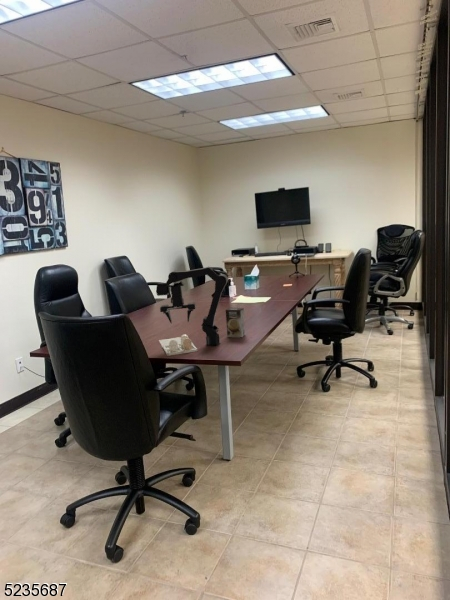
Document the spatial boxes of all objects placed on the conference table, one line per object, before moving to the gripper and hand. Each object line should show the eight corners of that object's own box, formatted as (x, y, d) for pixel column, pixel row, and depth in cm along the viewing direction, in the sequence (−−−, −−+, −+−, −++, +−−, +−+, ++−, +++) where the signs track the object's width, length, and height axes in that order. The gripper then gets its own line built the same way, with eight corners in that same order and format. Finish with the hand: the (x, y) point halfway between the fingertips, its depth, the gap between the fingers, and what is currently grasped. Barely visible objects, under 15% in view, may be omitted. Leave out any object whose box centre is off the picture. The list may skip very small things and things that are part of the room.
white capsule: (180, 351, 234) (178, 339, 233) (174, 353, 230) (173, 341, 229) (173, 350, 236) (172, 338, 235) (168, 352, 233) (166, 340, 232)
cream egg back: (190, 345, 243) (189, 333, 242) (185, 347, 239) (184, 336, 238) (184, 344, 245) (183, 333, 244) (179, 347, 242) (178, 335, 240)
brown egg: (193, 349, 236) (192, 337, 235) (188, 351, 232) (187, 339, 231) (187, 348, 238) (186, 336, 237) (182, 350, 235) (180, 338, 233)
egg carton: (197, 352, 233) (197, 349, 232) (167, 356, 228) (167, 353, 228) (185, 337, 262) (185, 334, 262) (158, 341, 258) (158, 338, 258)
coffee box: (226, 337, 256) (224, 309, 253) (230, 334, 262) (228, 307, 259) (242, 337, 253) (240, 309, 250) (245, 334, 259) (243, 307, 256)
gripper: (195, 290, 247) (198, 317, 250) (161, 293, 248) (165, 320, 250) (193, 294, 236) (196, 322, 239) (158, 297, 237) (161, 325, 240)
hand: (179, 322), depth 242 cm, fingers open, 9 cm apart
